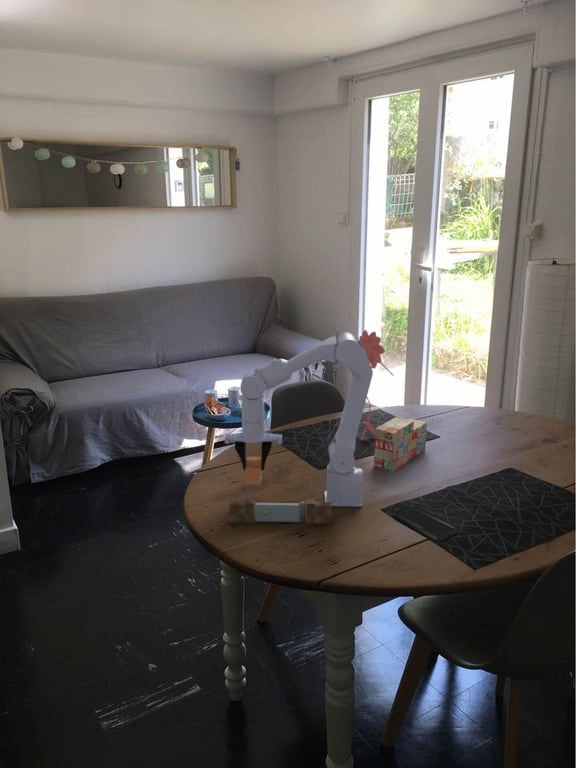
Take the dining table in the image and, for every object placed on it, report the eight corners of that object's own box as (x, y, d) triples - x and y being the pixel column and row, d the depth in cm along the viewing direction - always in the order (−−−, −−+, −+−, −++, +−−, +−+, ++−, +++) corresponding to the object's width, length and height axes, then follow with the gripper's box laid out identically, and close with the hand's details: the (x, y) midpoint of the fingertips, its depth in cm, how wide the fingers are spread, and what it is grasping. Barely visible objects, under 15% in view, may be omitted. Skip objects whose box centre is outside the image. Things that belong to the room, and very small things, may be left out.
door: (304, 519, 156) (305, 501, 155) (304, 523, 154) (305, 505, 153) (255, 519, 156) (255, 500, 155) (255, 523, 155) (255, 504, 153)
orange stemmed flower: (376, 449, 200) (383, 340, 191) (325, 425, 220) (329, 326, 211) (411, 439, 209) (419, 335, 199) (358, 418, 229) (363, 322, 219)
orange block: (262, 473, 167) (261, 456, 165) (260, 485, 161) (260, 467, 160) (246, 473, 167) (246, 456, 165) (244, 484, 161) (244, 467, 160)
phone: (412, 504, 163) (460, 528, 151) (412, 508, 163) (459, 532, 152) (391, 513, 158) (438, 538, 147) (391, 517, 159) (437, 543, 147)
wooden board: (330, 520, 156) (331, 500, 155) (331, 524, 155) (331, 504, 153) (230, 519, 157) (229, 499, 155) (229, 523, 155) (228, 502, 153)
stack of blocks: (407, 445, 204) (410, 408, 200) (425, 449, 200) (428, 413, 197) (373, 466, 188) (375, 427, 184) (392, 472, 184) (394, 432, 181)
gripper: (282, 414, 164) (282, 462, 168) (226, 413, 165) (227, 462, 169) (281, 423, 158) (281, 473, 161) (223, 423, 158) (224, 473, 162)
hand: (254, 468), depth 165 cm, fingers closed on orange block, 4 cm apart
